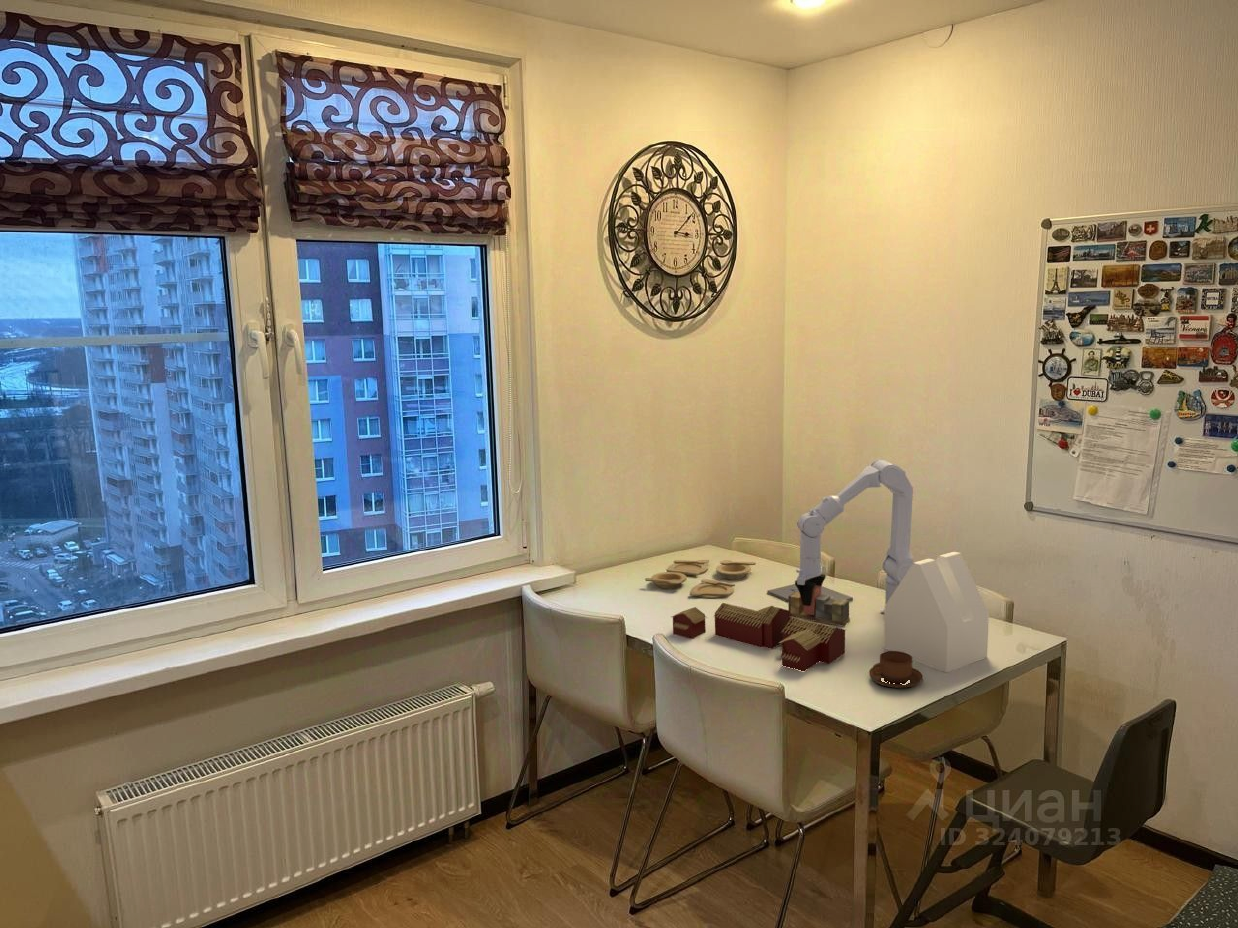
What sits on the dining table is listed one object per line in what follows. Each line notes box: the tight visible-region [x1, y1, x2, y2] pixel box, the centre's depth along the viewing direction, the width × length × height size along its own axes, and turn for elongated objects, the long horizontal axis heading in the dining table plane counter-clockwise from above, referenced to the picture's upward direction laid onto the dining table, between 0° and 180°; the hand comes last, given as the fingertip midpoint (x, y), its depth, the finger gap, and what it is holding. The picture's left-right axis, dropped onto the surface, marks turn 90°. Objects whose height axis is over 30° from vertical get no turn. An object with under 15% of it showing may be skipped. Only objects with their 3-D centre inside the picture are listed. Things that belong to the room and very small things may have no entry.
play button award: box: [766, 583, 854, 603], centre depth 273 cm, size 16×2×20 cm
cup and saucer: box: [868, 650, 923, 689], centre depth 213 cm, size 12×12×6 cm
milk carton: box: [883, 551, 990, 674], centre depth 227 cm, size 19×15×25 cm
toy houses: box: [670, 602, 847, 672], centre depth 239 cm, size 45×20×10 cm, turn 49°
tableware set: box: [644, 559, 756, 599], centre depth 293 cm, size 35×29×4 cm
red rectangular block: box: [804, 585, 821, 615], centre depth 255 cm, size 3×5×7 cm, turn 146°
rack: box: [787, 592, 851, 627], centre depth 255 cm, size 17×4×6 cm, turn 56°
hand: (810, 602), depth 256 cm, fingers closed on red rectangular block, 5 cm apart
